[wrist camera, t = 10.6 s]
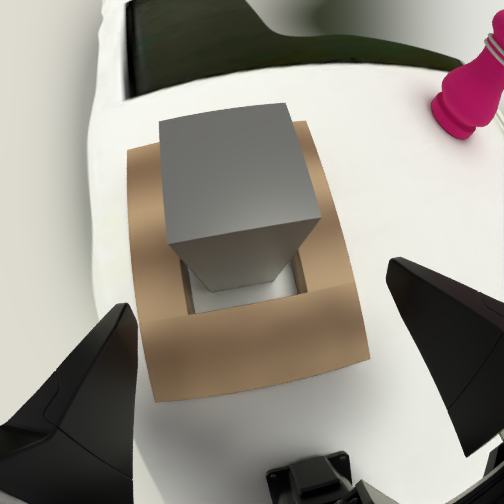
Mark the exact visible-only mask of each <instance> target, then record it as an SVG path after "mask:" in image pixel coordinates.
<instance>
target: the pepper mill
mask: <svg viewBox="0 0 504 504" xmlns="http://www.w3.org/2000/svg"><path fill="white" fill-rule="evenodd" d="M492 25H493V30H494V33H493V34H492V33H490V34H488V37H487V39H485V40H484V42H485V44H486V46H485V48H484V49H483V51H482V52H481V53H480V55H479V56H478V57H477V58H476V59H474V60H473V61H472V62H470V63H468V64H466V65H463V66H461V67H458V68H456V69H454V70H453V71H451V72H450V73H448V74H447V76H446V77H445V78H444V79H443V81H442V92H440V93H438V94H437V96H436V97H435V98H434V100H433V101H432V103H431V109H432V112H433V115H434V116H435V118H436V120H437V121H438V123H439V124H440V125H441V126H442V127H443V128H444V129H445V130H446V131H447V132H448V133H449V134H451V135H452V136H454V137H456V138H458V139H467V138H468V137H469V136H470V135H471V134H472V133H473V132H474V131H475V130H476V127H484V126H486V125H488V124H489V123H490V122H491V120H492V119H493V118H494V116H495V114H496V111H497V109H498V105H499V101H500V97H501V94H502V92H503V90H504V10H501V11H499V12H498V13H496V15H495V16H494V18H493V21H492Z"/></svg>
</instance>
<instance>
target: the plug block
mask: <svg viewBox="0 0 504 504" xmlns="http://www.w3.org/2000/svg"><path fill="white" fill-rule="evenodd" d="M159 139H160V160H161V177H162V191H163V203H164V214H165V224H166V234H167V243H168V245H169V246H170V247H171V248H172V249H173V251H174V252H175V253H176V254H177V255H178V256H179V257H180V258H181V259H182V261H183V262H184V263H185V264H186V265H187V266H188V267H189V268H190V269H191V270H192V271H193V272H194V274H195V275H196V276H197V277H198V278H199V279H200V280H201V281H202V282H203V283H204V284H205V285H206V286H207V287H208V288H209V289H210V291H211V292H216V291H221V290H227V289H233V288H238V287H244V286H249V285H254V284H260V283H265V282H270V281H274V280H275V279H276V277H277V276H278V275H279V274H280V272H281V271H282V270H283V268H284V267H285V266H286V264H287V263H288V262H289V261H290V259H291V258H292V257H293V255H294V254H295V253H296V251H297V250H298V249H299V247H300V246H301V245H302V243H303V242H304V241H305V239H306V238H307V237H308V235H309V234H310V233H311V231H312V230H313V229H314V227H315V226H316V225H317V223H318V222H319V220H320V219H321V218H322V216H321V213H320V209H319V205H318V202H317V198H316V195H315V192H314V188H313V185H312V181H311V178H310V175H309V172H308V168H307V165H306V162H305V159H304V156H303V153H302V150H301V147H300V143H299V140H298V137H297V135H296V132H295V129H294V126H293V123H292V120H291V117H290V114H289V112H288V109H287V106H286V103H276V104H265V105H255V106H246V107H238V108H231V109H224V110H217V111H211V112H205V113H199V114H193V115H188V116H183V117H178V118H173V119H168V120H164V121H159Z"/></svg>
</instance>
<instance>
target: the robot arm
mask: <svg viewBox="0 0 504 504" xmlns="http://www.w3.org/2000/svg"><path fill="white" fill-rule="evenodd" d="M386 283H387V286H388V288H389V290H390V292H391V295H392V297H393V299H394V301H395V304H396V306H397V308H398V311H399V313H400V315H401V317H402V319H403V321H404V323H405V325H406V327H407V328H408V330H409V332H410V334H411V336H412V338H413V340H414V342H415V344H416V345H417V347H418V349H419V351H420V353H421V355H422V357H423V359H424V361H425V363H426V365H427V367H428V369H429V371H430V374H431V376H432V378H433V380H434V382H435V384H436V386H437V388H438V391H439V393H440V395H441V397H442V400H443V402H444V404H445V406H446V409H447V410H448V414H449V416H450V419H451V421H452V423H453V426H454V428H455V431H456V433H457V436H458V439H459V441H460V444H461V447H462V449H463V452H464V455H465V457H466V458H467V457H469V456H470V455H471V454H473V453H474V452H476V451H477V450H479V449H480V448H481V447H483V446H484V445H485V444H487V443H488V442H489V441H491V440H492V439H493V438H494V437H496V436H497V435H498V434H499V435H500V437H501V439H502V441H503V442H502V443H501V444H500V445H498V446H497V447H496V448H495V449H493V450H492V451H491V452H490V454H489V458H488V462H487V465H486V469H485V473H484V476H483V478H482V479H481V480H480V481H478V482H477V483H476V484H474V485H473V486H471V487H470V488H469V489H467V490H466V491H464V492H463V493H461V494H460V495H458V496H457V497H455V498H454V499H452V500H450V501H449V502H447V503H446V504H504V303H503V302H500V301H498V300H496V299H494V298H492V297H489V296H487V295H485V294H483V293H481V292H478V291H477V290H474V289H472V288H470V287H468V286H466V285H464V284H462V283H459V282H457V281H455V280H453V279H451V278H448V277H446V276H444V275H442V274H439V273H437V272H435V271H433V270H430V269H428V268H426V267H423V266H421V265H419V264H416V263H414V262H412V261H409V260H407V259H405V258H402V257H396V258H391V259H390V261H389V264H388V269H387V274H386ZM137 369H138V324H137V321H136V318H135V316H134V314H133V312H132V309H131V307H130V305H129V304H128V303H119V304H116V305H115V306H114V307H113V308H112V309H111V310H110V311H109V312H108V313H107V314H106V315H105V316H104V317H103V318H102V319H101V320H100V322H99V323H98V324H97V325H96V326H95V327H94V328H93V329H92V330H91V331H90V332H89V334H88V335H87V336H86V337H85V338H84V339H83V340H82V341H81V342H80V343H79V344H78V345H77V346H76V348H75V349H74V350H73V351H72V352H71V353H70V354H69V355H68V357H67V358H66V359H65V360H64V361H63V362H62V363H61V365H60V366H59V367H58V368H57V369H56V371H54V372H53V374H52V375H51V376H50V377H49V378H48V380H47V381H46V382H45V383H44V384H43V385H42V386H41V387H40V389H39V390H37V392H36V393H35V394H34V395H33V396H32V397H31V398H30V399H29V400H28V401H27V402H26V403H25V404H24V405H23V406H22V407H21V408H20V409H19V410H18V411H17V412H16V413H15V414H14V415H13V416H12V417H11V418H10V419H9V420H8V421H7V422H6V423H5V424H3V425H1V426H0V504H134V502H133V480H132V479H133V426H134V407H135V393H136V381H137ZM342 456H344V458H343V459H340V458H341V457H342ZM272 474H274V475H275V476H274V477H270V475H272ZM266 479H267V483H268V487H269V490H270V494H271V498H272V502H273V504H399V503H398V502H396V501H394V500H393V499H391V498H390V497H388V496H386V495H385V494H383V493H382V492H380V491H378V490H377V489H375V488H374V487H372V486H371V485H369V484H368V483H366V482H365V481H363V480H362V479H361V480H360V481H359V482H358V483H357V484H356V485H355V487H354V488H353V486H352V478H351V469H350V460H349V455H348V454H347V453H346V452H344V451H343V452H339V453H336V454H332V455H329V456H326V457H324V456H321V457H318V458H314V459H311V460H307V461H303V462H299V463H295V464H292V465H291V466H287V467H283V468H278V469H273V470H270V471H268V472H267V473H266Z"/></svg>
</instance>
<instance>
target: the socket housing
mask: <svg viewBox="0 0 504 504" xmlns="http://www.w3.org/2000/svg"><path fill="white" fill-rule="evenodd" d="M292 123H293V126H294V129H295V132H296V135H297V137H298V140H299V143H300V147H301V150H302V153H303V156H304V159H305V162H306V165H307V168H308V172H309V175H310V178H311V181H312V185H313V188H314V192H315V195H316V198H317V202H318V205H319V209H320V213H321V216H322V218H321V219H320V220H319V222H318V223H317V225H316V226H315V227H314V229H313V230H312V231H311V233H310V234H309V235H308V237H307V238H306V239H305V241H304V242H303V243H302V245H301V246H300V247H299V249H298V250H297V251H296V253H295V254H294V255H293V257H292V258H291V263H292V267H293V272H294V276H295V281H296V286H297V290H298V295H293V296H289V297H284V298H279V299H274V300H269V301H264V302H259V303H254V304H248V305H243V306H238V307H232V308H227V309H221V310H216V311H210V312H204V313H198V314H195V310H194V304H193V299H192V293H191V286H190V280H189V274H188V267H187V265H186V264H185V263H184V262H183V261H182V259H181V258H180V257H179V256H178V255H177V254H176V253H175V252H174V251H173V249H172V248H171V247H170V246H169V245H168V243H167V234H166V224H165V214H164V203H163V191H162V177H161V160H160V142H158V143H154V144H150V145H146V146H142V147H138V148H134V149H130V150H127V201H128V224H129V239H130V252H131V263H132V273H133V282H134V290H135V298H136V306H137V312H138V319H139V325H140V331H141V337H142V343H143V348H144V354H145V359H146V364H147V369H148V373H149V378H150V382H151V387H152V391H153V395H154V399H155V402H166V401H177V400H187V399H195V398H203V397H211V396H218V395H224V394H231V393H237V392H243V391H248V390H253V389H259V388H264V387H269V386H273V385H278V384H282V383H287V382H291V381H295V380H299V379H304V378H307V377H311V376H315V375H319V374H323V373H326V372H330V371H333V370H337V369H340V368H343V367H347V366H350V365H353V364H356V363H360V362H363V361H366V360H369V359H370V354H369V348H368V343H367V337H366V332H365V327H364V321H363V317H362V312H361V307H360V302H359V298H358V293H357V289H356V284H355V280H354V276H353V272H352V267H351V263H350V259H349V256H348V252H347V248H346V244H345V240H344V237H343V233H342V229H341V226H340V222H339V219H338V215H337V212H336V209H335V205H334V202H333V199H332V195H331V192H330V189H329V186H328V183H327V180H326V176H325V173H324V170H323V167H322V164H321V161H320V159H319V156H318V153H317V150H316V147H315V144H314V141H313V139H312V136H311V133H310V130H309V128H308V125H307V122H306V121H296V122H292Z"/></svg>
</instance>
